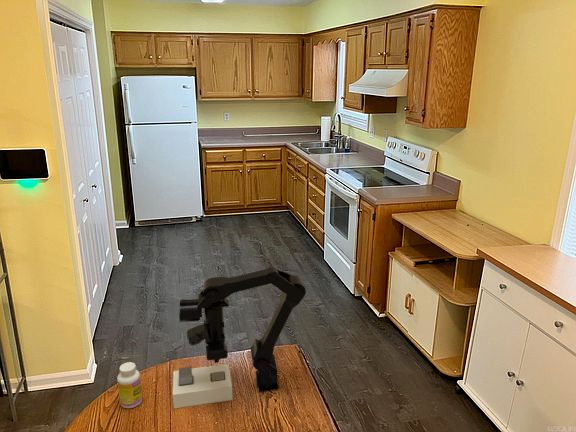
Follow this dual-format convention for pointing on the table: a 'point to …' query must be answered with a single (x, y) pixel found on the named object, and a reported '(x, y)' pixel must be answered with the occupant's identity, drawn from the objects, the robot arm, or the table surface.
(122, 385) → the supplement bottle
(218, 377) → the peg
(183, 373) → the peg
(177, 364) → the table surface
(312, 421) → the table surface
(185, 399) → the bore block
